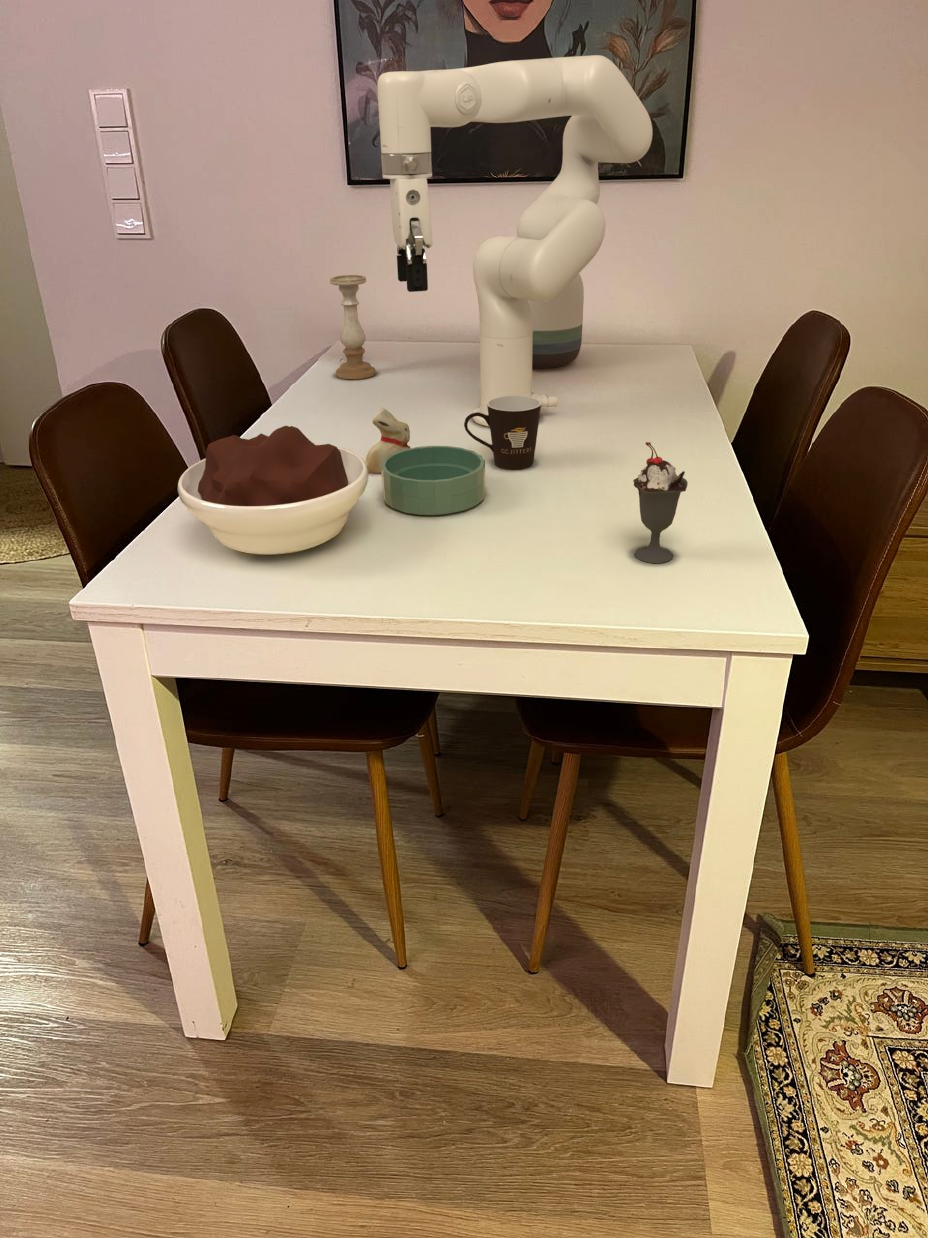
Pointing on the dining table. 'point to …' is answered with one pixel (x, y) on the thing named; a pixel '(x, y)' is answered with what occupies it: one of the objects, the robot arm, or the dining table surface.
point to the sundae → (658, 504)
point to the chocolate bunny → (387, 440)
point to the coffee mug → (511, 430)
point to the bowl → (433, 480)
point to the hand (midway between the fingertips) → (412, 285)
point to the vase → (558, 327)
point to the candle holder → (352, 330)
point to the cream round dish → (273, 491)
